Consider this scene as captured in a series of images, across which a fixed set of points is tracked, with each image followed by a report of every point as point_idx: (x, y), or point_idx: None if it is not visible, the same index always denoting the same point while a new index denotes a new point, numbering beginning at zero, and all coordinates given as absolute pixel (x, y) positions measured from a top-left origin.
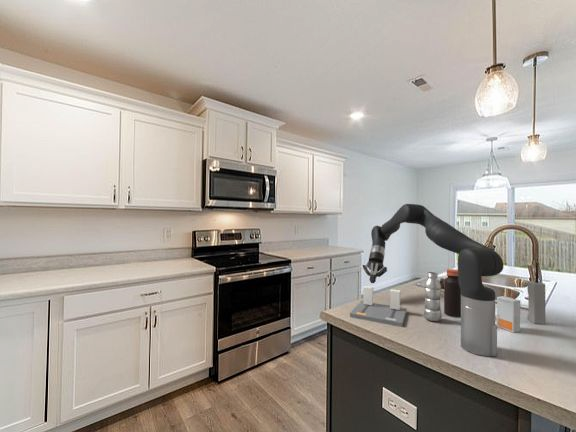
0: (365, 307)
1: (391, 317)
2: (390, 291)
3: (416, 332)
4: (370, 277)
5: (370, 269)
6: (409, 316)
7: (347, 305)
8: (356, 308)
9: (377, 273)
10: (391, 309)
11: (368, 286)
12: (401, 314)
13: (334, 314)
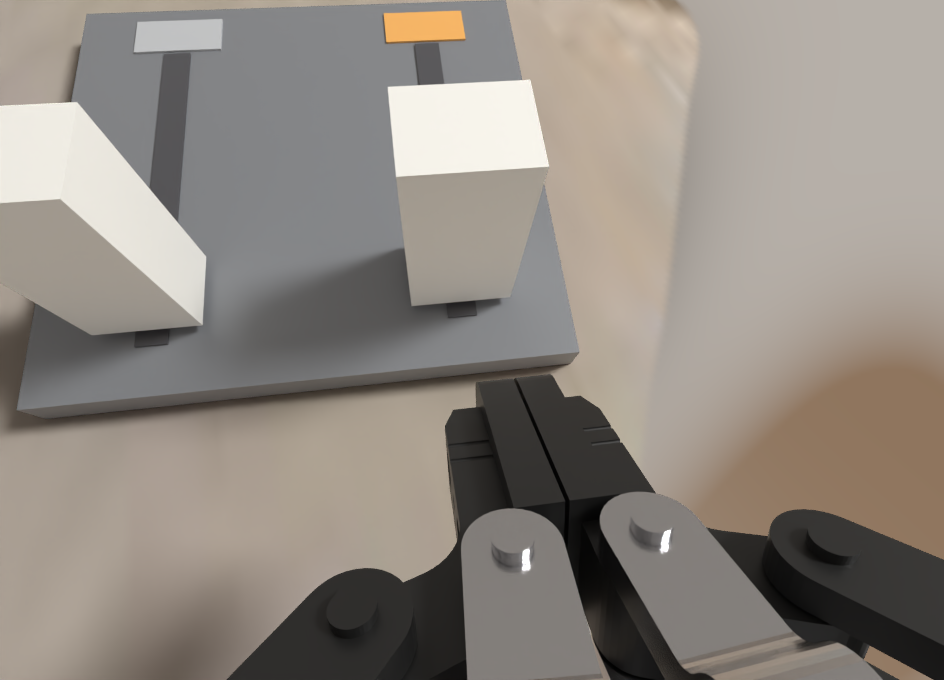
0: None
1: (175, 66)
2: (78, 110)
3: (6, 7)
4: (605, 451)
5: (863, 664)
6: None
7: (652, 238)
8: None
9: (404, 588)
10: None
11: (481, 161)
12: None
13: (614, 13)
